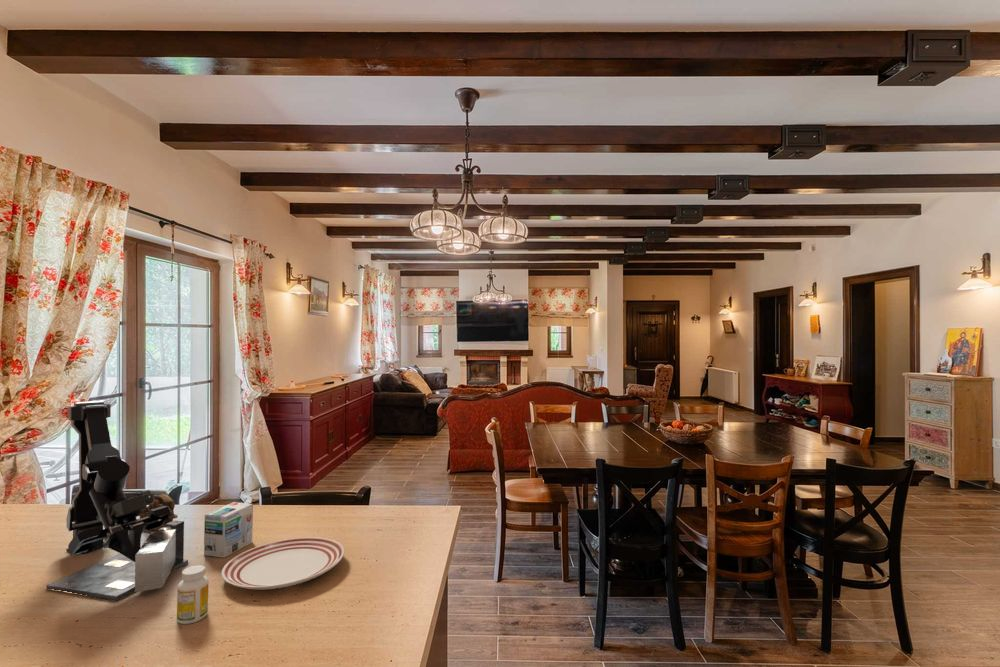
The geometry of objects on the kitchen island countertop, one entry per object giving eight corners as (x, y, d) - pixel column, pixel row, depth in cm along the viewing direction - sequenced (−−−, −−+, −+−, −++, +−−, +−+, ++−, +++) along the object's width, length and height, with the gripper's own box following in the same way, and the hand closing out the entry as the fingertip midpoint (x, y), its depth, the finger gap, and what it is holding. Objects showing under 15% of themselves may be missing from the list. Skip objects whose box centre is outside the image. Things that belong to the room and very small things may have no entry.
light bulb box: (224, 558, 124) (225, 516, 125) (202, 556, 126) (203, 514, 126) (253, 541, 135) (254, 503, 135) (232, 539, 136) (233, 501, 136)
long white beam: (134, 592, 105) (135, 555, 105) (153, 560, 119) (154, 528, 120) (162, 587, 107) (162, 551, 107) (177, 557, 122) (178, 525, 122)
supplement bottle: (181, 628, 94) (182, 578, 94) (172, 618, 98) (173, 570, 98) (212, 616, 98) (212, 569, 98) (202, 606, 102) (203, 561, 102)
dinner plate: (192, 587, 110) (193, 573, 110) (284, 541, 136) (284, 529, 136) (287, 611, 101) (287, 595, 101) (366, 556, 126) (366, 544, 126)
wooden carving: (131, 527, 144) (131, 494, 145) (147, 522, 149) (148, 490, 149) (167, 536, 138) (167, 501, 138) (183, 530, 142) (183, 497, 142)
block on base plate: (46, 589, 108) (47, 544, 109) (128, 553, 127) (129, 515, 127) (116, 601, 104) (117, 554, 104) (191, 561, 122) (192, 522, 122)
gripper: (76, 494, 102) (103, 557, 98) (168, 472, 119) (195, 525, 114) (56, 524, 106) (82, 586, 101) (149, 499, 123) (174, 551, 118)
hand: (137, 560), depth 108 cm, fingers closed
